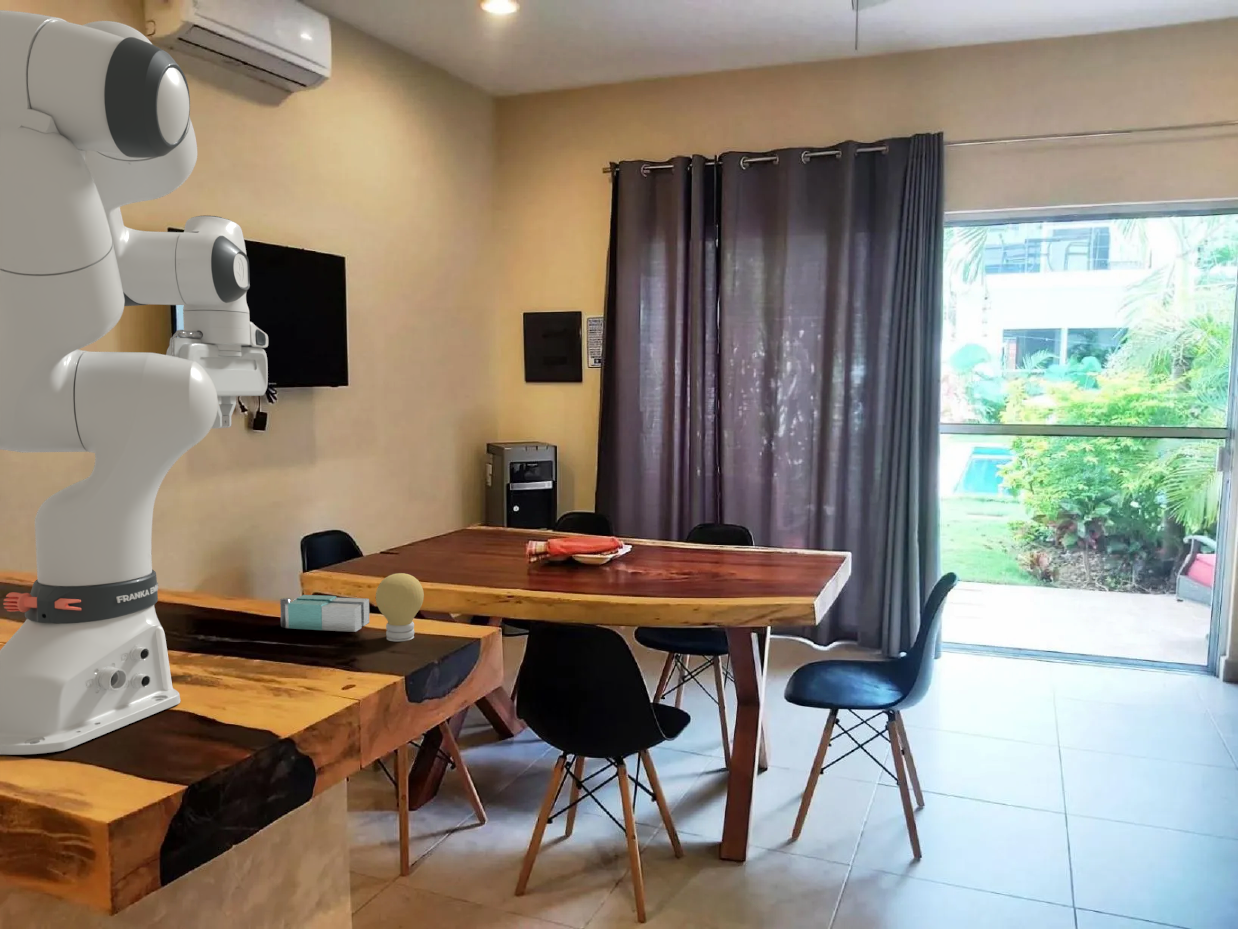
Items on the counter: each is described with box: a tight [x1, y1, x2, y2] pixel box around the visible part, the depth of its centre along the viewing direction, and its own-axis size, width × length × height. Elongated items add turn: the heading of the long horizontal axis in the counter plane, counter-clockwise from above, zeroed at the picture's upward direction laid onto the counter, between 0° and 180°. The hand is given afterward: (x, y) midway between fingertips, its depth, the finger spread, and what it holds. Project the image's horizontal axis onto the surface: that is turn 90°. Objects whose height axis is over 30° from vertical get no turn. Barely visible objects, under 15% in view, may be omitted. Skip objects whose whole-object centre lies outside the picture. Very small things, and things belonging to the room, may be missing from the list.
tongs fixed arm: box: [279, 597, 363, 633], centre depth 128 cm, size 2×12×4 cm, turn 81°
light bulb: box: [375, 572, 425, 642], centre depth 123 cm, size 6×6×10 cm
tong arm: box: [293, 594, 370, 627], centre depth 130 cm, size 2×10×4 cm, turn 84°
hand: (220, 428), depth 132 cm, fingers closed
